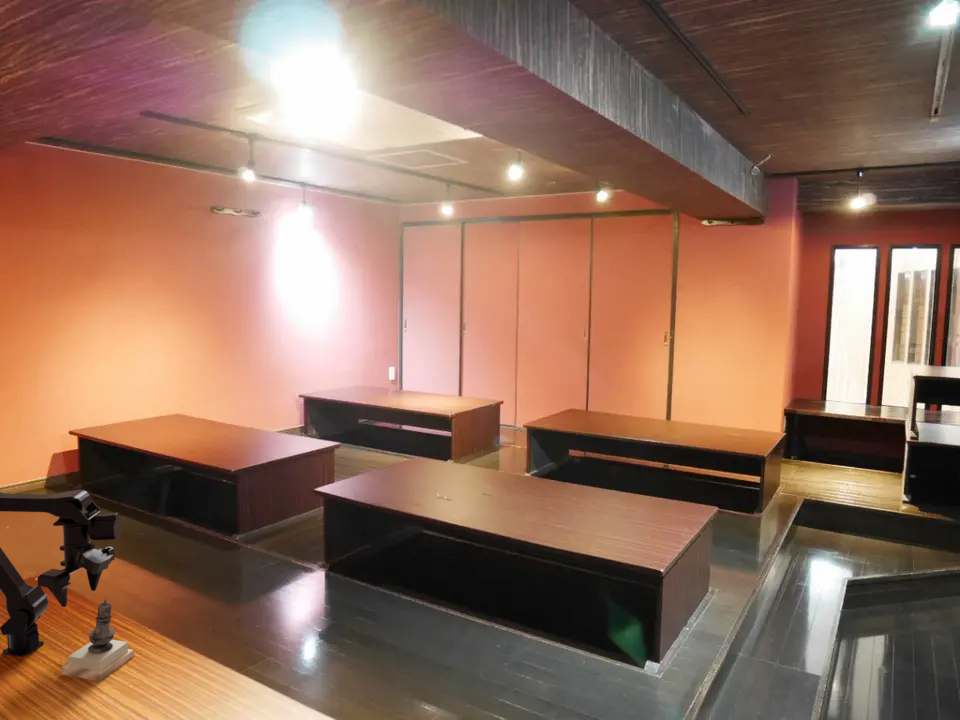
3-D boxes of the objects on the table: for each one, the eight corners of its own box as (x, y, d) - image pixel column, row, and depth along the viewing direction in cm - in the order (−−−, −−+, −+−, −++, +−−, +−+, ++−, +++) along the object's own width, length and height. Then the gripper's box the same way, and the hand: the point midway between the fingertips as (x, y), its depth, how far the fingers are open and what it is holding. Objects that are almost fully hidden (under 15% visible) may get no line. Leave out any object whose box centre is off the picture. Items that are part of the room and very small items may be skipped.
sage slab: (68, 666, 155) (68, 656, 155) (98, 646, 164) (97, 637, 163) (100, 671, 153) (99, 661, 153) (128, 651, 162) (127, 642, 162)
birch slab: (61, 677, 154) (61, 667, 154) (97, 653, 165) (97, 644, 165) (100, 684, 152) (99, 674, 152) (134, 659, 163) (133, 649, 162)
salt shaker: (104, 654, 155) (109, 605, 155) (81, 651, 155) (86, 602, 155) (119, 643, 161) (124, 596, 161) (96, 640, 161) (101, 593, 161)
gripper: (72, 558, 153) (75, 620, 155) (130, 530, 171) (132, 586, 173) (34, 553, 155) (37, 614, 157) (95, 526, 174) (98, 581, 175)
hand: (79, 598), depth 165 cm, fingers open, 9 cm apart
